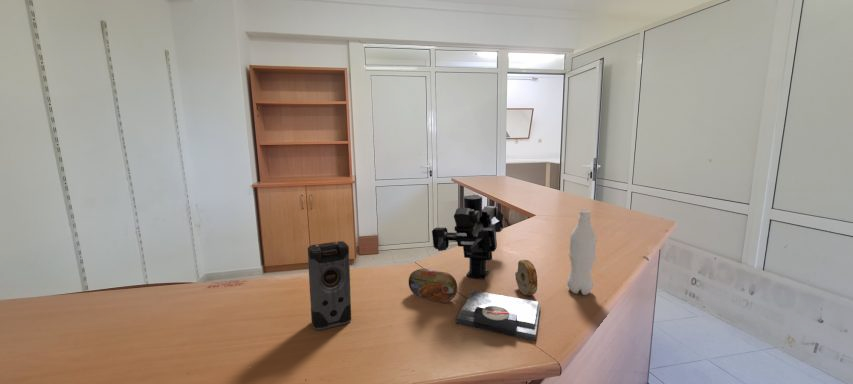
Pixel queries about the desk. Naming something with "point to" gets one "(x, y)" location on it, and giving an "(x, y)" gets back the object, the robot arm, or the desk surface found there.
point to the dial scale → (500, 314)
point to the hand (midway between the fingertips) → (454, 249)
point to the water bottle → (582, 254)
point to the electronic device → (329, 284)
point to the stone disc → (526, 277)
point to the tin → (433, 285)
